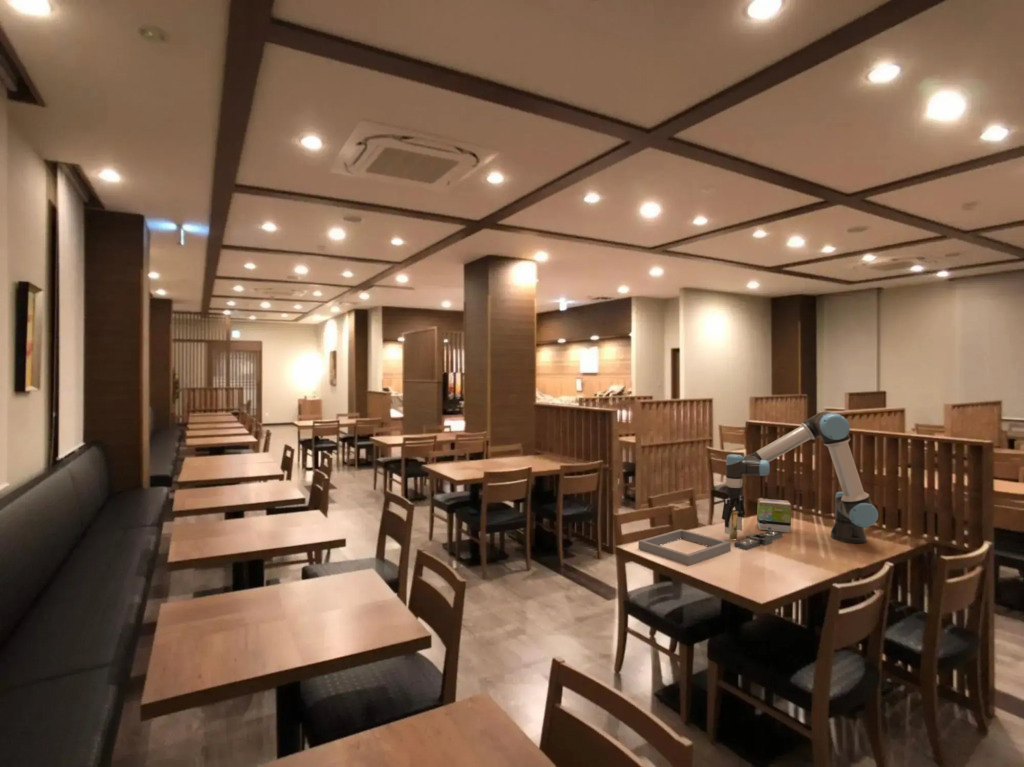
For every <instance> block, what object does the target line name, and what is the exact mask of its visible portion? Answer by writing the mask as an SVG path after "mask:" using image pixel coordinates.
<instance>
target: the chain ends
mask: <svg viewBox="0 0 1024 767" xmlns="http://www.w3.org/2000/svg"><path fill="white" fill-rule="evenodd" d="M783 533H784V532H779V531H772V530H766V531H764V532H762V533H754V532H753V533H751V534H750V533H749V534H747V535H745V538H744V539H741V540H737V541H735V542H734V543H733V544H734V546H735V547H734V546H733V547H734V548H737V547H738V548H737V549H742V550H744V549H745V550H746V551H748V550H751V549H754V548H755V547H759V546H767V545H770V544H771V545H772V544H773V541H775V540H778V539H782V538H783V535H784V534H783Z"/></svg>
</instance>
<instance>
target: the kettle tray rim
mask: <svg viewBox="0 0 1024 767" xmlns="http://www.w3.org/2000/svg"><path fill="white" fill-rule="evenodd" d="M680 538H684V539H687V540H686V541H688V540H690V541H689V542H691V541H694V542H693V543H695V542H697V543H696V544H698V543H700V544H699V545H702V544H704V545H703V546H705V545H707V546H706V547H705V548H703V549H699V550H697V551H692V552H690V553H684V552H681V551H679V550H674V549H673V548H669V547H664V546H662V545H665V544H664V543H666V544H668V543H667V542H669V543H671V542H670V541H673V542H675V541H674V540H676V541H678V540H677V539H679V540H681V539H680ZM684 539H683V540H684ZM660 544H662V545H660ZM637 545H638V550H639V549H640V550H639V551H643V552H645V553H648V554H651V555H654V556H658V557H661V558H664V559H666V560H670V561H673V562H676V563H679V564H682V565H684V566H692V565H695V564H697V563H701V562H703V560H704V561H707V560H708V559H712V558H714V557H717V556H721V555H724V554H726V552H727V553H729V552H728V551H730V552H731V551H732V550H731V545H732V542H730V541H727V540H723V539H720V538H716V537H712V536H708V535H705V534H700V533H696V532H694V531H690V530H686V529H683V528H680V529H676V530H673V531H669V532H666V533H662V534H659V535H655V536H651V537H647V538H644V539H640V540H638V544H637ZM709 546H710V547H709ZM723 553H724V554H723ZM720 554H721V555H720ZM706 559H707V560H706Z"/></svg>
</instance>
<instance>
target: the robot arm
mask: <svg viewBox="0 0 1024 767" xmlns="http://www.w3.org/2000/svg"><path fill="white" fill-rule="evenodd" d="M850 429H851V428H850V423H849V421H848V420H847V419H846V417H844V416H843V415H841V414H839V413H834V412H829V411H821V412H818V413H816V414H815V415H813V416H811V417H810V418H807V420H805V421H803V422H801V424H800V426H799V427H797V428H795V429H793V430H791V431H789V432H788V433H786V434H784V435H783V436H781V437H779V438H777V439H776V440H774V441H772V442H771V443H769V444H767V445H765V446H763V447H761V448H760V449H758V450H756V451H754V452H752V453H751V454H745V455H744V456H742V454H735V453H733V454H732V453H731V454H727V455H726V458H725V459H726V460H725V461H726V463H725V485H726V486H725V494H726V495H727V498H724V499H723V508H722V514H721V519H722V520H723V521H724V534H728V535H730V534H731V521H730V517H731V514H732V510H737V511H738V514H737V531H743V518H745V516H746V511H745V502H744V498H745V497H744V496H743V476H760V477H763V476H764V477H765V476H768V475H769V474H770V468H771V467H770V463H771V461H774V460H775V459H777V458H779V457H780V456H782V455H785V454H786V453H788V452H790V451H792V450H793V449H795V448H798V447H799V446H800V445H802V444H804V443H806V442H807V441H810V440H816V439H819V438H820V439H821V440H822V441H821V442H822V444H823V445H824V446H826V447H827V448H828V451H829V455H830V459H831V460H832V464H833V466H834V469H835V474H836V476H837V479H838V483H839V485H840V488H841V491H837V492H835V498H834V499H835V500H834V502H835V503H834V505H835V507H834V508H835V509H834V510H835V511H834V512H835V515H834V516H835V518H834V520H835V521H834V523H833V526H832V528H831V531H830V538H832V539H833V540H835V541H839V542H844V543H849V544H863V543H867V540H868V539H867V535H866V534H867V533H866V531H865V528H869V527H872V526H873V525H875V524H876V522H877V521H878V518H879V511H878V509H877V507H876V506H875V505H873V503H872V501H871V497H870V494H869V493H867V492H865V491H864V488H863V484H862V481H861V478H860V475H859V472H858V469H857V466H856V463H855V460H854V457H853V454H852V450H851V448H850V445H849V442H850V441H851V436H850Z"/></svg>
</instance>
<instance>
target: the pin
mask: <svg viewBox="0 0 1024 767" xmlns="http://www.w3.org/2000/svg"><path fill="white" fill-rule="evenodd" d="M737 514H738V511H737V510H736V509H733V510H732V514H731V517H730V521H731V534H729V540H731V539H737V540H738V530H737Z"/></svg>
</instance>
